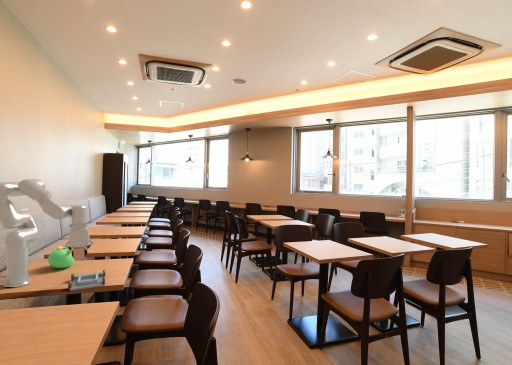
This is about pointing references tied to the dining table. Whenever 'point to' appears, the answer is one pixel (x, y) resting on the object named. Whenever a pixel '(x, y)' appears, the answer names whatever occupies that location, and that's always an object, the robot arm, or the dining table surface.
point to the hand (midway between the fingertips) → (79, 256)
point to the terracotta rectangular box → (79, 252)
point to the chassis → (86, 281)
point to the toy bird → (61, 258)
